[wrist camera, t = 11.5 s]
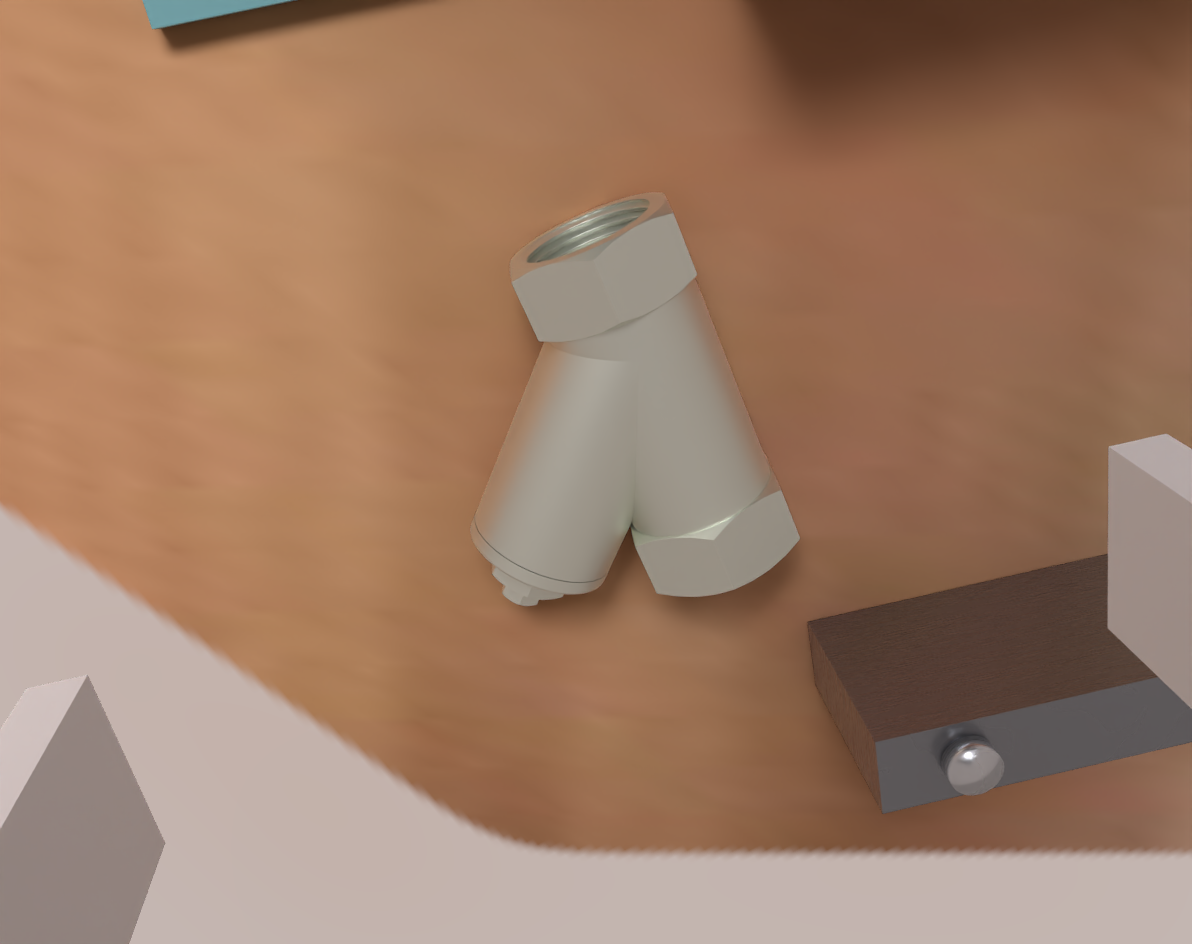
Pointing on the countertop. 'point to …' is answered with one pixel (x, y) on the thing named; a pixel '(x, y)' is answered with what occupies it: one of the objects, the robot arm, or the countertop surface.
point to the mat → (197, 10)
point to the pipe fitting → (626, 423)
